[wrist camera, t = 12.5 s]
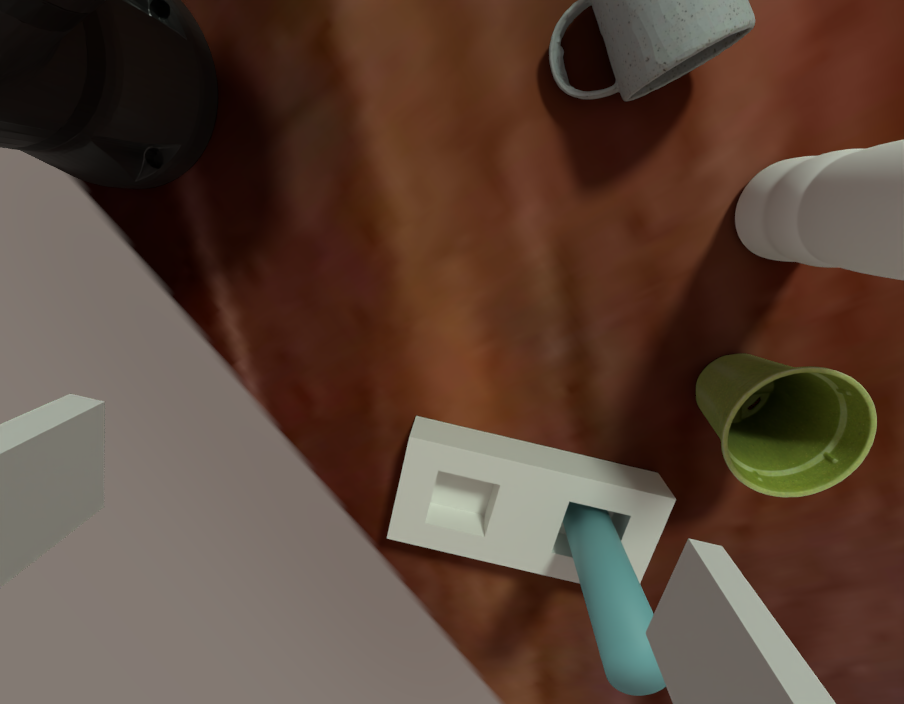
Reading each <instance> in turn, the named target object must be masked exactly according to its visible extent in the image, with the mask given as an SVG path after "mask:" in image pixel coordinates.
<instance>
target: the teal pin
mask: <svg viewBox="0 0 904 704" xmlns="http://www.w3.org/2000/svg"><path fill="white" fill-rule="evenodd" d="M563 524H564V528H565V531H566V535H567V539H568V542H569V546H570V549H571V553H572V556H573V560H574V563H575V567H576V571H577V574H578V578H579V581H580V585H581V588H582V592H583V595H584V599H585V602H586V606H587V610H588V613H589V617H590V620H591V624H592V627H593V631H594V634H595V638H596V642H597V645H598V649H599V652H600V656H601V659H602V663H603V666H604V670H605V674H606V677H607V679H608V681H609V682H610V684H611V685H612V686H613V687H614V688H616V689H617V690H619V691H621V692H623V693H626V694H629V695H648V694H652V693H655V692H657V691H659V690H661V689H663V688H664V687H666V684H665V682H664V679H663V677H662V674H661V672H660V669H659V666H658V664H657V661H656V659H655V656H654V654H653V651H652V649H651V646H650V643H649V641H648V638H647V636H646V630H647V628H648V626H649V624H650V622H651V620H652V617H653V615H654V614H653V612H652V610H651V608H650V605H649V603H648V601H647V599H646V596H645V594H644V592H643V590H642V587H641V585H640V583H639V581H638V578H637V576H636V574H635V572H634V569H633V567H632V565H631V563H630V560H629V558H628V556H627V554H626V551H625V549H624V547H623V545H622V542H621V540H620V538H619V536H618V533H617V531H616V529H615V527H614V525H613V522H612V520H611V518H610V516H609V513H608V511H607V510H604V509H600V508H595V507H591V506H587V505H583V504H578V503H574V502H570V501H569V504H568V507H567V510H566V512H565V515H564V518H563Z"/></svg>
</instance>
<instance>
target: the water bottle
mask: <svg viewBox="0 0 904 704" xmlns="http://www.w3.org/2000/svg"><path fill="white" fill-rule="evenodd" d="M735 226H736V230H737V234H738V236H739V238H740V240H741V241H742V243H743V244H744V245H745V247H746V248H747V249H748V250H750V251H751V252H752V253H754V254H756V255H758V256H760V257H763V258H766V259H771V260H777V261H786V262H799V263H802V264H806V265H811V266H817V267H840V268H844V269H847V270H851V271H856V272H860V273H865V274H870V275H875V276H881V277H887V278H893V279H899V280H904V140H900V141H895V142H890V143H886V144H882V145H878V146H874V147H870V148H867V149H847V150H840V151H834V152H830V153H826V154H822V155H819V156H806V157H798V158H792V159H787V160H783V161H780V162H777V163H775V164H772V165H770V166H768V167H767V168H765V169H763V170H762V171H761V172H759V173H758V174H757V175H756V176H755V177H754V178H753V179H752V180H751V181H750V182H749V183H748V184H747V186H746V187H745V188H744V190H743V192H742V194H741V195H740V198H739V200H738V203H737V206H736V211H735Z"/></svg>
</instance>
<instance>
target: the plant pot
mask: <svg viewBox="0 0 904 704" xmlns="http://www.w3.org/2000/svg"><path fill="white" fill-rule="evenodd" d="M759 397H760V399H761V400H760V401H759V403H758V404H757V405H756V406H755V407H754V408H752V409H750V410H748V409H747V408H748V407H749V406H750V405H752V404H754V403H755V401H757V399H758V398H759ZM696 402H697V404H698V406H699V408H700V410H701V411H702V413H703V414H704V416H705V417H706V419H707V420H708V421H709V423H710V424H711V426H712V427H713V429H714V430H715V432H716V433H717V435H718V436H719V438H720V440H721V448H722V453H723V457H724V460H725V462H726V464H727V466H728V468H729V469H730V471H731V472H732V473H733V474H734V476H735V477H736V478H737V479H738V480H739V481H741V482H742V483H743V484H745V485H746V486H748V487H749V488H751V489H753V490H755V491H757V492H760V493H763V494H766V495H771V496H777V497H801V496H806V495H811V494H814V493H817V492H820V491H823V490H825V489H828V488H830V487H832V486H834V485H836V484H837V483H839V482H841V481H842V480H844V479H845V478H846V477H847V476H849V475H850V474H851V473H852V472H853V471H854V470H856V469H857V468H858V466H859V465H860V464H861V463H862V462H863V460H864V458H865V457H866V455H867V454H868V452H869V450H870V448H871V446H872V444H873V441H874V437H875V434H876V427H877V417H876V410H875V406H874V403H873V401H872V399H871V397H870V395H869V394H868V393H867V391H866V390H865V389H864V387H863V386H862V385H861V384H859V383H858V382H857V381H856V380H854V379H853V378H851V377H849V376H848V375H846V374H843V373H841V372H838V371H835V370H832V369H828V368H822V367H790V366H787V365H783V364H780V363H776V362H773V361H770V360H766V359H763V358H760V357H756V356H753V355H750V354H744V353H743V354H732V355H726V356H722V357H720V358H718V359H716V360H714V361H713V362H711V363H710V364H709V365H708V366H707V367H706V368H705V369H704V370H703V371H702V373H701V374H700V376H699V377H698V380H697V382H696Z"/></svg>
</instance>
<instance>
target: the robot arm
mask: <svg viewBox="0 0 904 704" xmlns="http://www.w3.org/2000/svg"><path fill="white" fill-rule="evenodd" d="M217 106H218V87H217V78H216V71H215V67H214V62H213V59H212V55H211V52H210V49H209V47H208V44H207V42H206V39H205V37H204V35H203V33H202V31H201V29H200V27H199V25H198V24H197V22H196V20H195V19H194V17H193V16H192V14H191V13H190V11H189V10H188V9H187V7H186V6H185V5H184V4H183V2H182V1H181V0H0V147H2V148H10V149H17V150H21V151H23V152H25V153H27V154H29V155H31V156H33V157H35V158H37V159H39V160H41V161H43V162H45V163H47V164H49V165H51V166H54V167H56V168H58V169H60V170H62V171H64V172H66V173H68V174H70V175H72V176H74V177H76V178H78V179H81V180H84V181H87V182H90V183H93V184H97V185H101V186H106V187H116V188H129V189H145V188H152V187H157V186H160V185H164V184H166V183H169V182H171V181H173V180H175V179H176V178H178V177H180V176H181V175H182V174H184V173H185V172H186V171H188V170H189V169H190V168H191V167H192V166H193V165H194V164H195V162H196V161H197V160H198V159H199V157H200V156H201V155H202V153H203V151H204V150H205V148H206V146H207V144H208V142H209V140H210V137H211V134H212V131H213V128H214V124H215V120H216V115H217ZM104 427H105V402H104V401H100V400H96V399H91V398H87V397H83V396H78V395H74V394H68V395H66V396H64V397H61V398H59V399H57V400H55V401H52V402H50V403H48V404H45V405H43V406H41V407H39V408H36V409H34V410H32V411H29V412H27V413H25V414H23V415H21V416H18V417H16V418H14V419H11V420H9V421H7V422H4V423H2V424H0V588H1V587H2V586H4V585H5V584H6V583H7V582H9V581H10V580H11V579H12V578H14V577H15V576H16V575H18V574H19V573H20V572H21V571H23V570H24V569H25V568H26V567H28V566H29V565H30V564H32V563H33V562H34V561H36V560H37V559H38V558H39V557H40V556H42V555H43V554H44V553H46V552H47V551H48V550H50V549H51V548H52V547H54V546H55V545H56V544H57V543H59V542H60V541H61V540H62V539H64V538H65V537H66V536H68V535H69V534H70V533H71V532H73V531H74V530H75V529H77V528H78V527H79V526H80V525H82V524H83V523H84V522H85V521H87V520H88V519H89V518H91V517H92V516H93V515H95V514H96V513H97V512H98V511H99V510H101V509H102V508H103V507H104V441H105V440H104V438H105V435H104V434H105V429H104ZM646 636H647V638H648V641H649V643H650V646H651V649H652V651H653V654H654V656H655V659H656V661H657V664H658V666H659V669H660V672H661V674H662V677H663V679H664V682H665V684H666V687H667V689H668V692H669V695H670V697H671V700H672V702H673V704H836V703H835V702H834V700H833V699H832V698H831V696H830V695H829V693H828V692H827V691H826V689H825V688H824V687H823V685H822V684H821V682H820V681H819V680H818V678H817V677H816V675H815V674H814V673H813V671H812V670H811V669H810V667H809V666H808V664H807V663H806V662H805V660H804V659H803V657H802V656H801V655H800V653H799V652H798V651H797V649H796V648H795V646H794V645H793V644H792V642H791V641H790V640H789V638H788V637H787V635H786V634H785V633H784V631H783V630H782V628H781V627H780V626H779V624H778V623H777V622H776V620H775V619H774V617H773V616H772V615H771V613H770V612H769V610H768V609H767V608H766V606H765V605H764V604H763V602H762V601H761V599H760V598H759V597H758V595H757V594H756V593H755V591H754V590H753V588H752V587H751V586H750V584H749V583H748V581H747V580H746V579H745V577H744V576H743V575H742V573H741V572H740V570H739V569H738V568H737V566H736V565H735V563H734V562H733V561H732V559H731V558H730V557H729V555H728V554H727V552H726V551H725V550H724V548H723V547H722V546H719V545H714V544H710V543H706V542H701V541H697V540H693V539H689V538H688V540H687V543H686V545H685V547H684V549H683V551H682V554H681V556H680V558H679V560H678V562H677V565H676V567H675V569H674V571H673V573H672V576H671V578H670V580H669V582H668V584H667V587H666V589H665V591H664V593H663V595H662V598H661V600H660V602H659V604H658V606H657V609H656V611H655V613H654V615H653V617H652V620H651V622H650V624H649V626H648V628H647V630H646Z"/></svg>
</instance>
